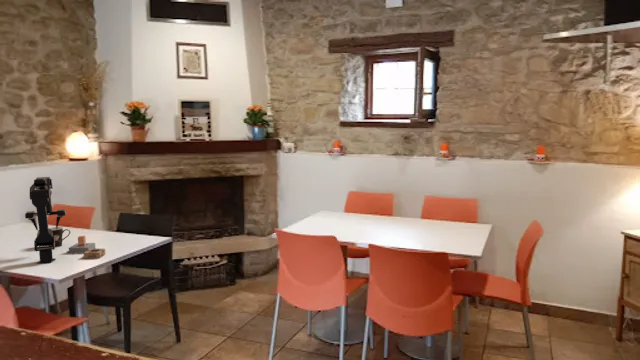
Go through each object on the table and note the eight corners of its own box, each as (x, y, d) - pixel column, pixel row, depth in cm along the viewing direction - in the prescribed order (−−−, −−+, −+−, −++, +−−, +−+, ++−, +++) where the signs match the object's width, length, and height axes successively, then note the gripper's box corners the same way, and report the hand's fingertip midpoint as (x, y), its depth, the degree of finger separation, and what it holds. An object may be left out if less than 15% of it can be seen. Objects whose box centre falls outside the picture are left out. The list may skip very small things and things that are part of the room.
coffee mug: (44, 248, 283) (43, 230, 282) (49, 244, 292) (48, 227, 291) (67, 247, 286) (66, 229, 284) (71, 243, 294) (70, 226, 293)
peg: (84, 251, 277) (83, 236, 276) (78, 251, 276) (77, 237, 275) (86, 249, 280) (85, 235, 279) (80, 250, 279) (79, 235, 278)
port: (88, 252, 273) (88, 247, 273) (69, 253, 273) (68, 247, 272) (95, 248, 283) (95, 242, 283) (76, 248, 283) (76, 243, 282)
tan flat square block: (100, 258, 263) (99, 252, 263) (84, 258, 263) (83, 252, 262) (105, 254, 271) (105, 248, 271) (90, 254, 271) (89, 248, 270)
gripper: (65, 197, 280) (67, 225, 282) (26, 199, 273) (28, 228, 275) (64, 200, 270) (66, 229, 272) (23, 202, 263) (26, 232, 265)
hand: (47, 229), depth 271 cm, fingers open, 9 cm apart
